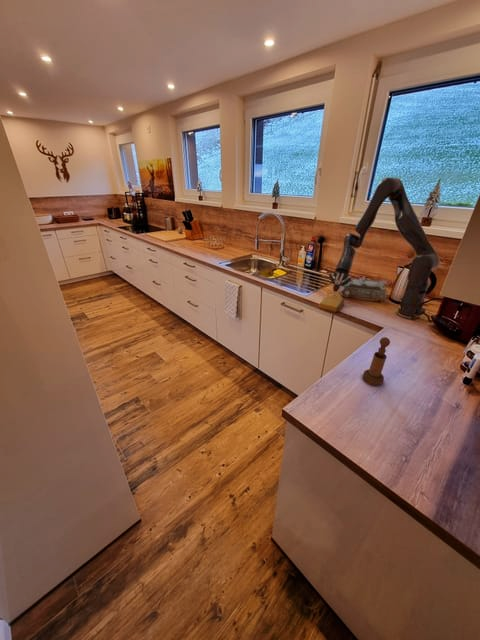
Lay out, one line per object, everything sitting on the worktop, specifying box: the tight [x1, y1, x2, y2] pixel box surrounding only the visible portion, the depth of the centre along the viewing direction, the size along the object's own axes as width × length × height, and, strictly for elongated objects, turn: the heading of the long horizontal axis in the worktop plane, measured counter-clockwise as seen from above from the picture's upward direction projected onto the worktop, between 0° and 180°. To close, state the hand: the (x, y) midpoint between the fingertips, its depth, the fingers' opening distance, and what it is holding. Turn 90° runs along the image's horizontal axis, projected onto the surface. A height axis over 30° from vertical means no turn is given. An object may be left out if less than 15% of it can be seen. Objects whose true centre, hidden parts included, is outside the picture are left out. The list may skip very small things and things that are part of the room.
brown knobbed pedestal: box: [362, 336, 391, 387], centre depth 91 cm, size 7×6×18 cm
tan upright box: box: [318, 294, 345, 313], centre depth 150 cm, size 10×3×14 cm
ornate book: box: [338, 275, 390, 303], centre depth 163 cm, size 23×10×30 cm
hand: (335, 291), depth 149 cm, fingers closed
